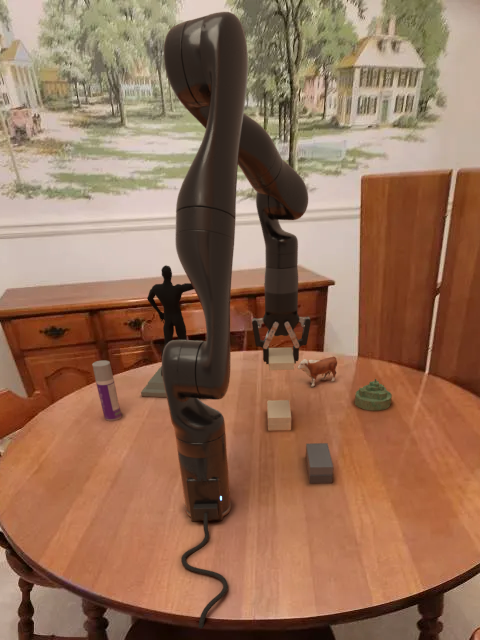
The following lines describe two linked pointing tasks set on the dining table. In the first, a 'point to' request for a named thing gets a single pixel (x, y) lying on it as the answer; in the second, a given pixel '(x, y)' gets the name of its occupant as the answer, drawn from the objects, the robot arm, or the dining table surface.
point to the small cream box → (278, 415)
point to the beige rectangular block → (281, 359)
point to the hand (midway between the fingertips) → (280, 362)
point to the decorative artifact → (373, 397)
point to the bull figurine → (319, 368)
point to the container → (107, 390)
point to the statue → (166, 322)
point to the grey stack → (319, 463)
